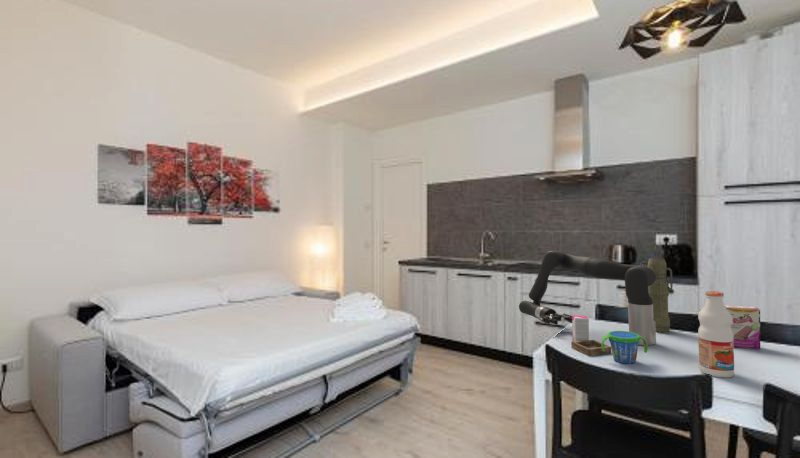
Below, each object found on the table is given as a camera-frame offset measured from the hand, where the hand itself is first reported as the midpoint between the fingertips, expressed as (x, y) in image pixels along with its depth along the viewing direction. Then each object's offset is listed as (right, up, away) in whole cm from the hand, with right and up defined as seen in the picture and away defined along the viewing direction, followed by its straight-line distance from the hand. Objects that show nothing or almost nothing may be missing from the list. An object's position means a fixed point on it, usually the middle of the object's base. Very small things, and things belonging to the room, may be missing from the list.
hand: (565, 321), depth 181 cm
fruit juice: (+31, -6, -49) cm, 58 cm away
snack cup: (+8, -7, -34) cm, 36 cm away
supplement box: (+2, -7, -11) cm, 13 cm away
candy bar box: (+63, -5, -23) cm, 67 cm away
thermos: (+46, -5, +3) cm, 47 cm away
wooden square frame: (+1, -7, -21) cm, 22 cm away
